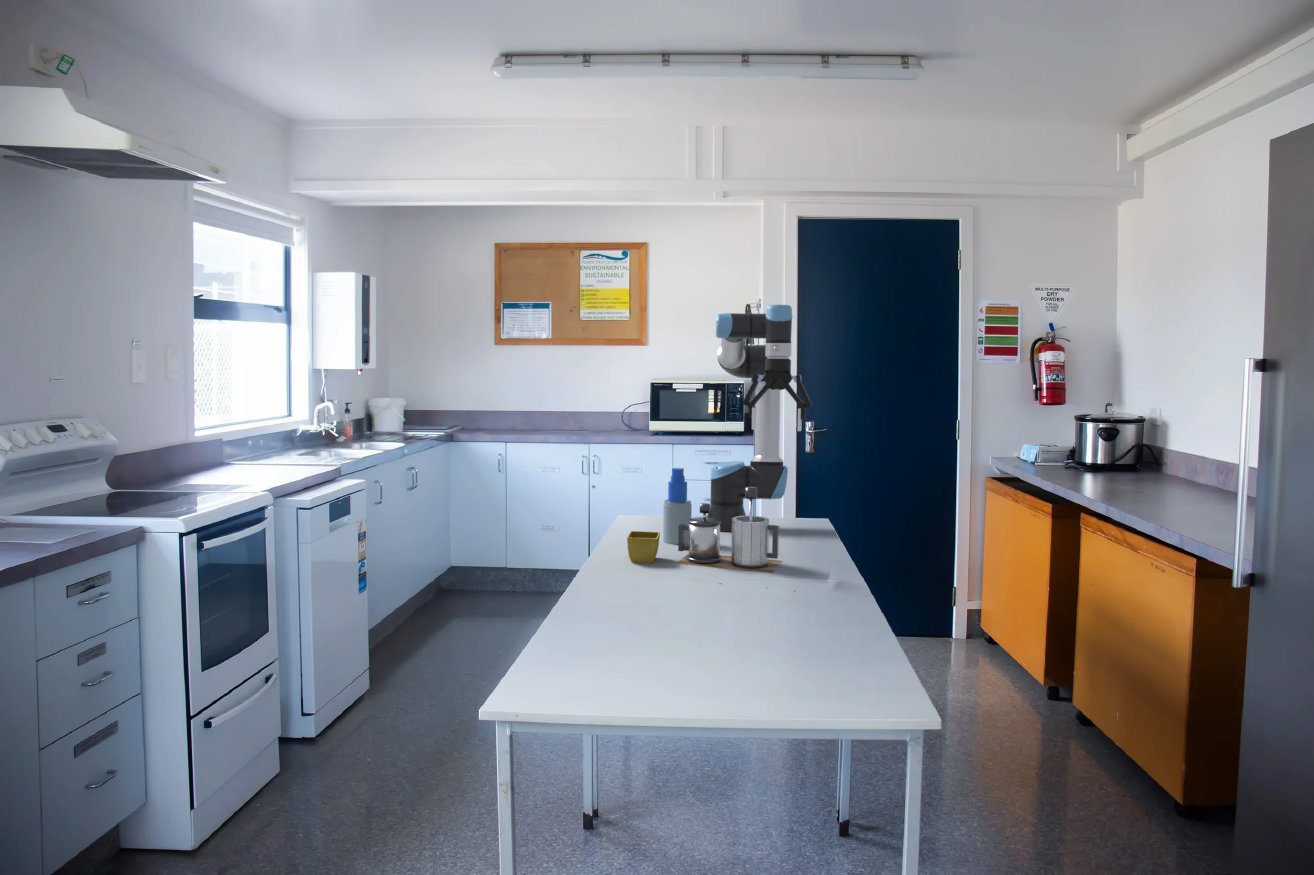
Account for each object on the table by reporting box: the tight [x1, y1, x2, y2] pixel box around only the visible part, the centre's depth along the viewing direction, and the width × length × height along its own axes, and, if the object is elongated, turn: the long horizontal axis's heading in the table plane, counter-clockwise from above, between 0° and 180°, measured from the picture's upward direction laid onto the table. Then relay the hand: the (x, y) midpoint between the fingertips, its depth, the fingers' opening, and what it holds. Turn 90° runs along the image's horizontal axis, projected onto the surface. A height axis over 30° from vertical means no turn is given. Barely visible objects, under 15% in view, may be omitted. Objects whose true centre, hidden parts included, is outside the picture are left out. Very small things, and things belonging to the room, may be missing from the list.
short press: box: [677, 502, 721, 564], centre depth 234 cm, size 10×13×16 cm
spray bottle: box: [662, 467, 692, 546], centre depth 257 cm, size 9×9×25 cm
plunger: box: [745, 487, 758, 522], centre depth 229 cm, size 7×7×19 cm
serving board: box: [675, 552, 783, 574], centre depth 232 cm, size 14×28×2 cm, turn 71°
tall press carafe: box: [730, 515, 780, 569], centre depth 229 cm, size 10×13×13 cm
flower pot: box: [626, 530, 661, 564], centre depth 234 cm, size 9×9×9 cm
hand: (776, 430), depth 239 cm, fingers open, 13 cm apart
